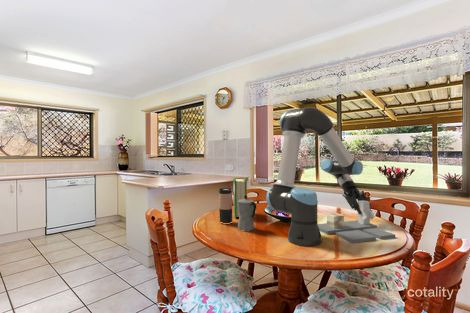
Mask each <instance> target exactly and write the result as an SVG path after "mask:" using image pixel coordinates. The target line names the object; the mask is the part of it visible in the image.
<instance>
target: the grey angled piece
mask: <svg viewBox="0 0 470 313" xmlns="http://www.w3.org/2000/svg"><path fill="white" fill-rule="evenodd" d="M369 202H370V200H369V201H365V200H361V201H358V200H357V203H358V205H359V207H361V208H362V210H363V211H364V213H365V214H366V216H367V218H366V219H365V220H363V219H362V217H361V215H360V214H359V213H358V212H357V220H346V221H345V220H344V227H341V228H332V227H330V226H328V225H327V222H326V223H318V227H319V230H320V232H322V233H325V234H327V235H332V234H336V232H344V231H353V230H360V231H363V229H371V228H378V225H376V224H373V223H370V222H371V221H370V220H371V219H370V209H371V207H370V203H371V202H370V203H369Z"/></svg>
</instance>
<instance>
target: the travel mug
mask: <svg viewBox="0 0 470 313" xmlns="http://www.w3.org/2000/svg"><path fill="white" fill-rule="evenodd" d="M218 195H219V196H218V198H219V199H218V204H219V206H218V208H219V209H218V210H219V223H220V222H223V223H230V222H232V223H233V189H232V188H229V187H224V188H223V187H222V188H219V190H218Z"/></svg>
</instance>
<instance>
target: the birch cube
mask: <svg viewBox="0 0 470 313" xmlns="http://www.w3.org/2000/svg"><path fill="white" fill-rule="evenodd" d="M344 222H345V215H344V214H341V213H337V212H334V213H333V212H332V213H327V214H326V223H327V225H328V226H330V227H332V228H341V227H344Z"/></svg>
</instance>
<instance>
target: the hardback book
mask: <svg viewBox="0 0 470 313" xmlns="http://www.w3.org/2000/svg"><path fill="white" fill-rule="evenodd" d="M232 183H233V214H235V215H234V218H235V217H240V214H239V210H238V204H237V201H238V200H241V199H245V198H244V196H245V195H246V196H247V195H248V194H247V191H248V190H247V188H248V187H247V186H248V185H247V179H246V178H245V177H233V182H232ZM247 197H248V196H247Z"/></svg>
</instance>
